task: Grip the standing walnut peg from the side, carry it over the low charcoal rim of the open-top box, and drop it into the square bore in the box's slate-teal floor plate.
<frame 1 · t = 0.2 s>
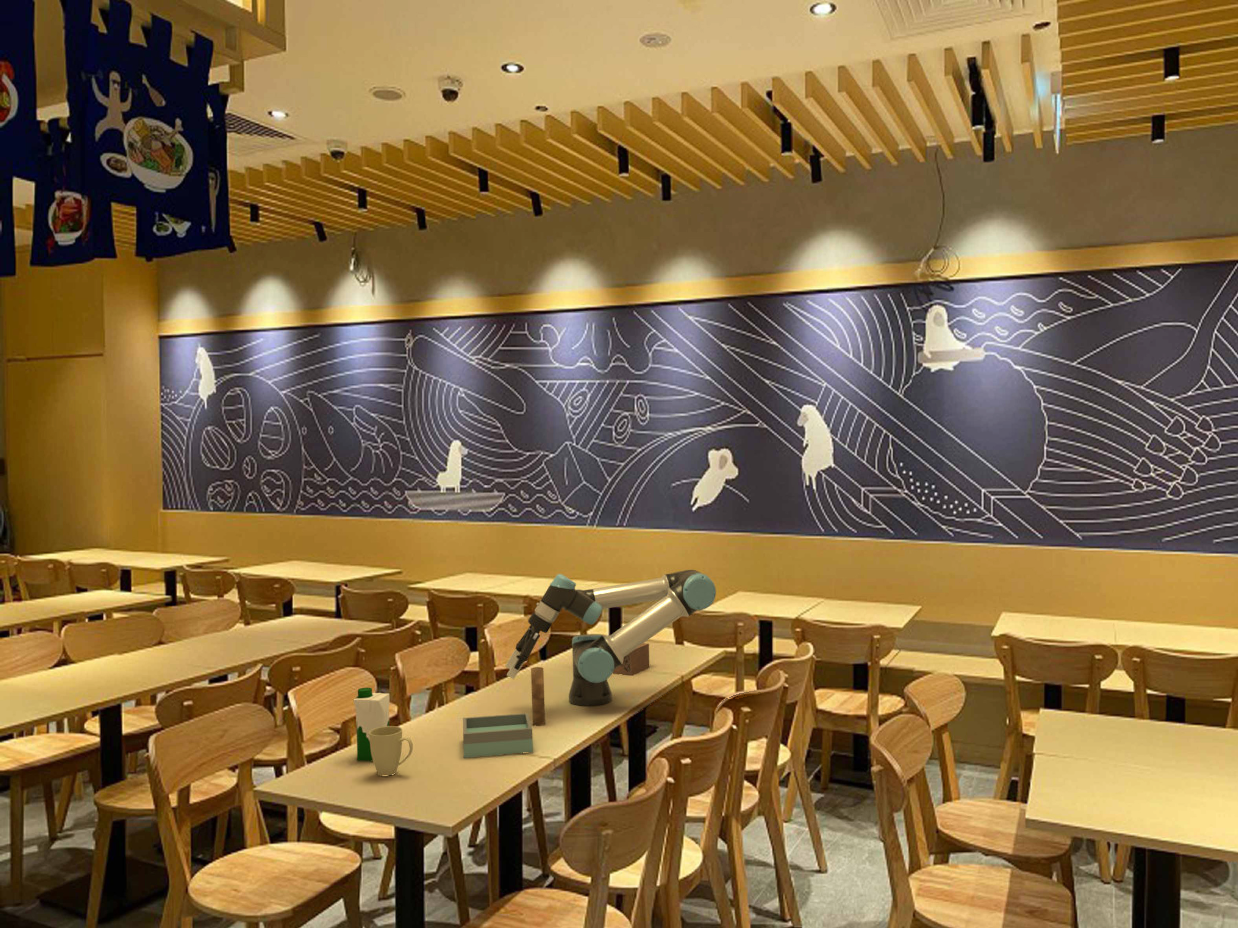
hand: (509, 672, 319), 15 cm above the table, tool tilted 35°, fingers open, 13 cm apart
milk carton: (374, 757, 281), on the table
tissue box cover: (612, 669, 384), on the table
mug: (391, 774, 266), on the table
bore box: (497, 746, 288), on the table
peg: (538, 723, 310), on the table
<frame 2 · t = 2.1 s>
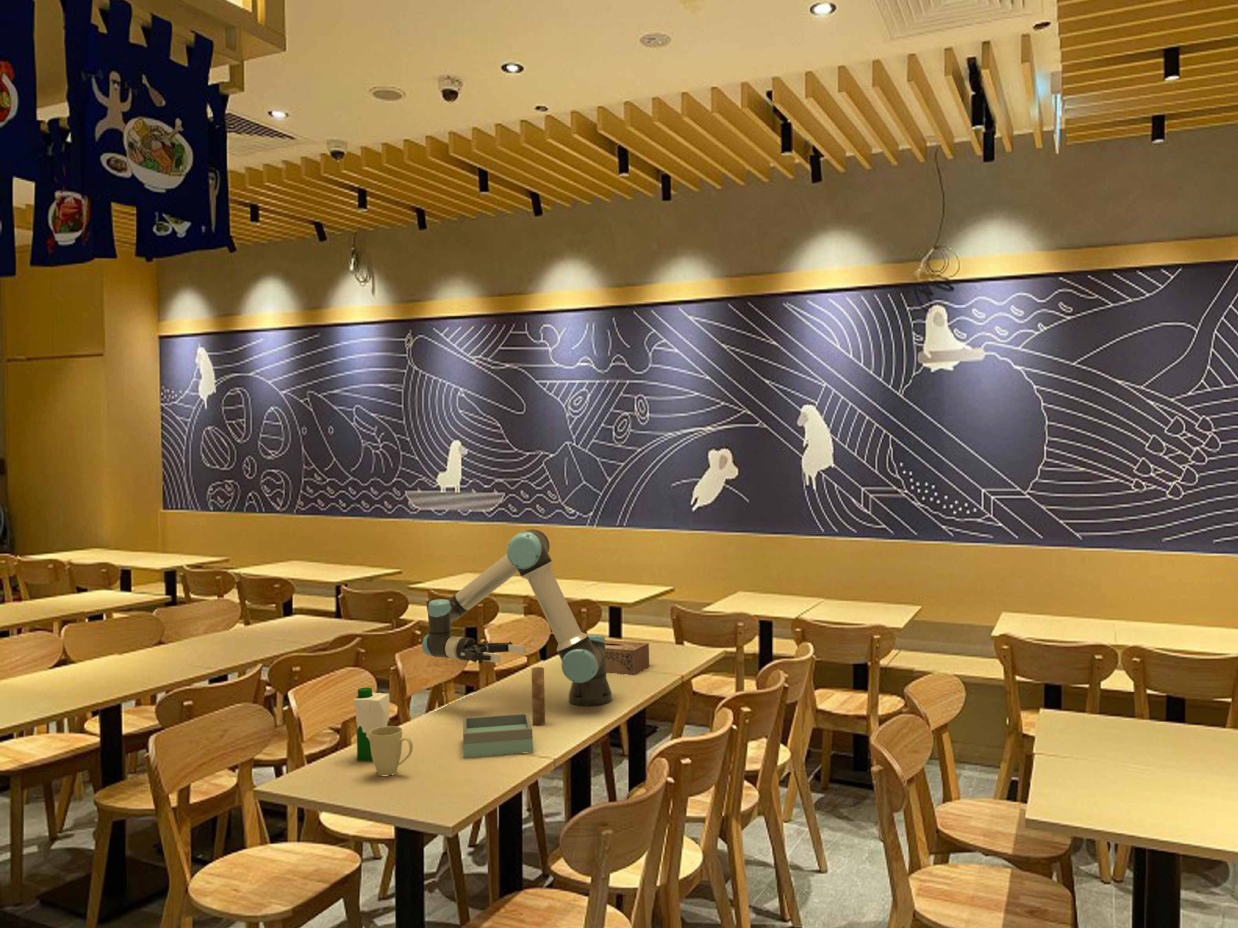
hand: (512, 654, 314), 22 cm above the table, tool horizontal, fingers open, 13 cm apart
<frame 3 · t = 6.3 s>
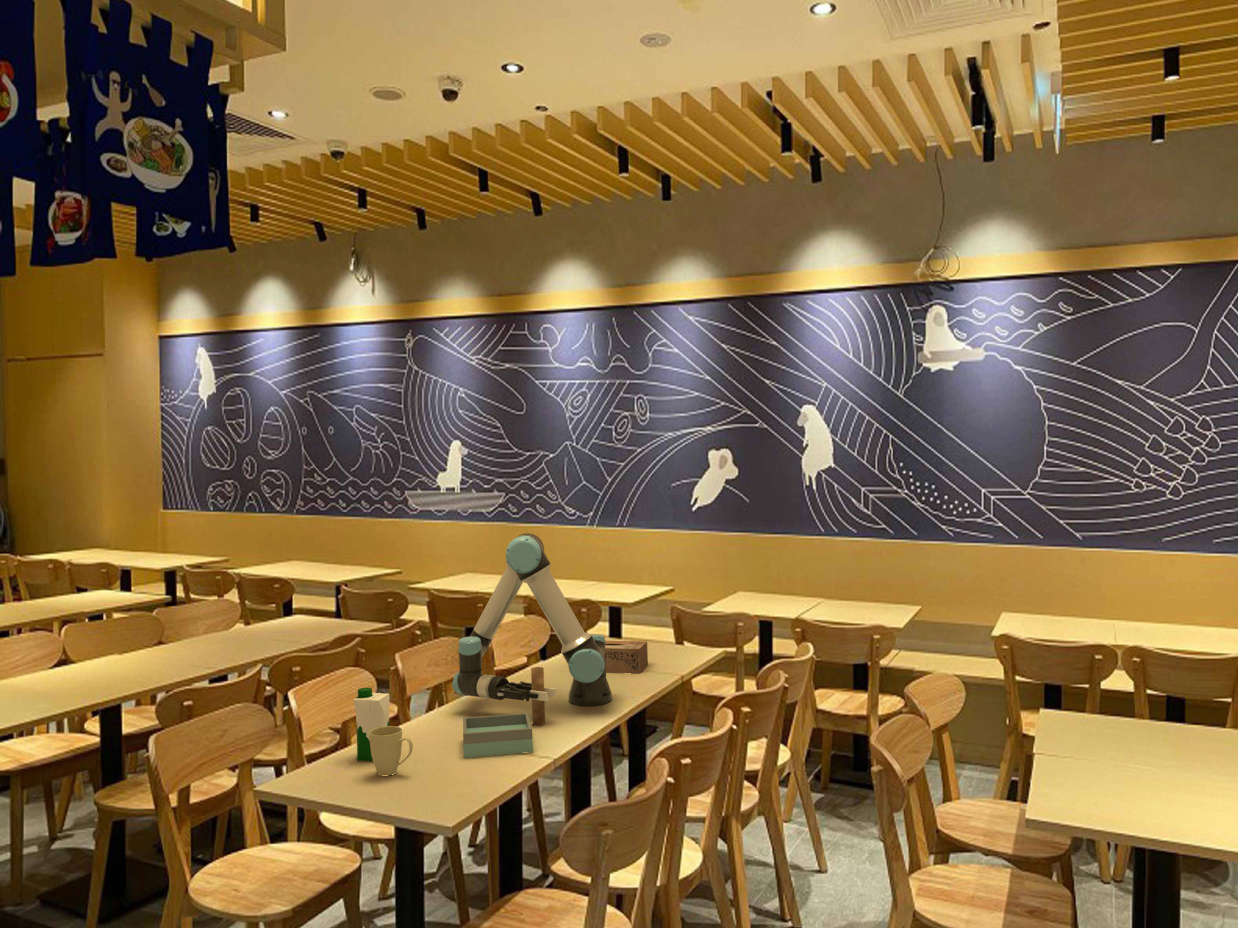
hand: (551, 694, 307), 10 cm above the table, tool horizontal, fingers closed on peg, 4 cm apart
peg: (538, 723, 310), on the table, touching gripper
when the fingers open (13 cm above the table, at t = 11.3 s): peg drops 3 cm, resting in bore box.
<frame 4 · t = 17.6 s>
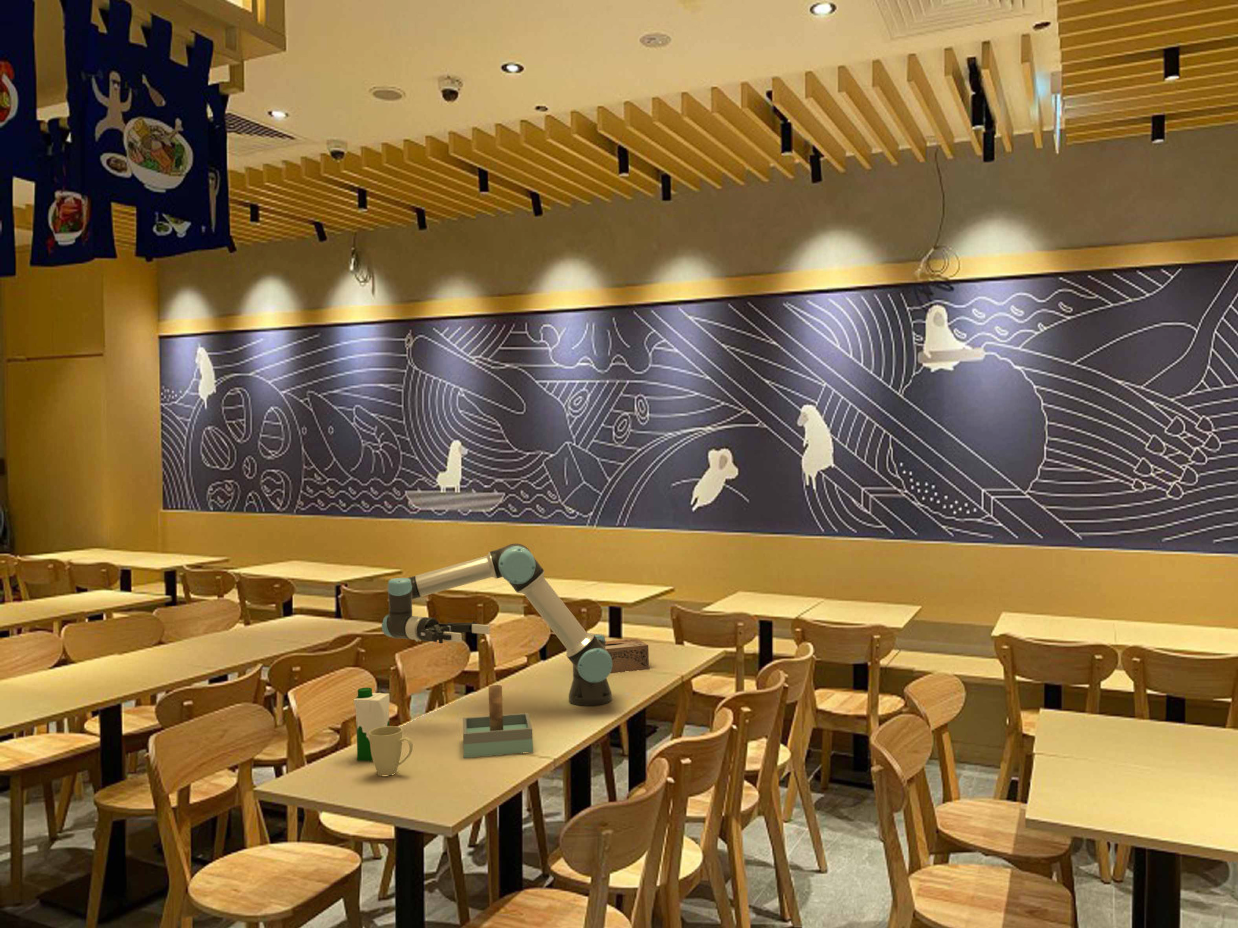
hand: (475, 633, 298), 32 cm above the table, tool horizontal, fingers open, 13 cm apart
peg: (497, 746, 288), resting in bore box
at the end: peg 0.1 cm off-centre on the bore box, point 0.0 cm above the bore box's base; peg tilted 0° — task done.
